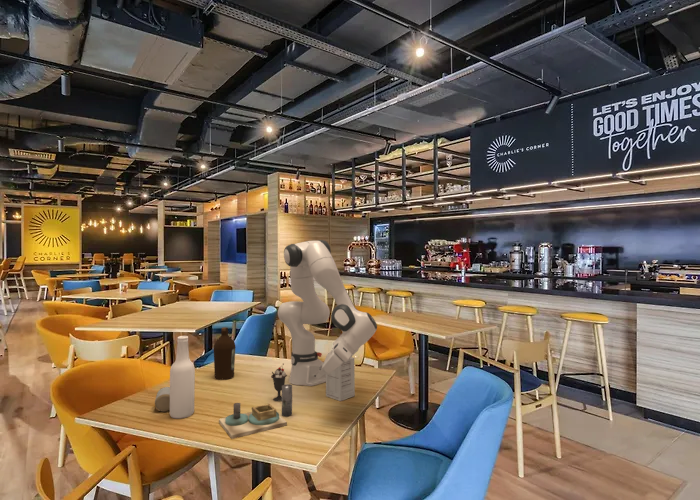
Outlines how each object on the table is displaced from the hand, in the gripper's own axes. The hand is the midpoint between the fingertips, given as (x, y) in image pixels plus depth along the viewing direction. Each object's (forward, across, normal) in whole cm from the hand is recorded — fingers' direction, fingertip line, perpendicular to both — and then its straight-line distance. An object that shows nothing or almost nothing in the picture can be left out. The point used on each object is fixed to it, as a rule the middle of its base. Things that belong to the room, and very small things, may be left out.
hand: (318, 373), depth 152 cm
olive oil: (+49, -46, -26) cm, 72 cm away
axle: (+20, 0, +3) cm, 20 cm away
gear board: (+28, +9, -5) cm, 29 cm away
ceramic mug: (+54, -5, -32) cm, 63 cm away
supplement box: (+6, -21, +16) cm, 28 cm away
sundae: (+25, -16, -2) cm, 30 cm away
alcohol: (+49, +2, -26) cm, 55 cm away
